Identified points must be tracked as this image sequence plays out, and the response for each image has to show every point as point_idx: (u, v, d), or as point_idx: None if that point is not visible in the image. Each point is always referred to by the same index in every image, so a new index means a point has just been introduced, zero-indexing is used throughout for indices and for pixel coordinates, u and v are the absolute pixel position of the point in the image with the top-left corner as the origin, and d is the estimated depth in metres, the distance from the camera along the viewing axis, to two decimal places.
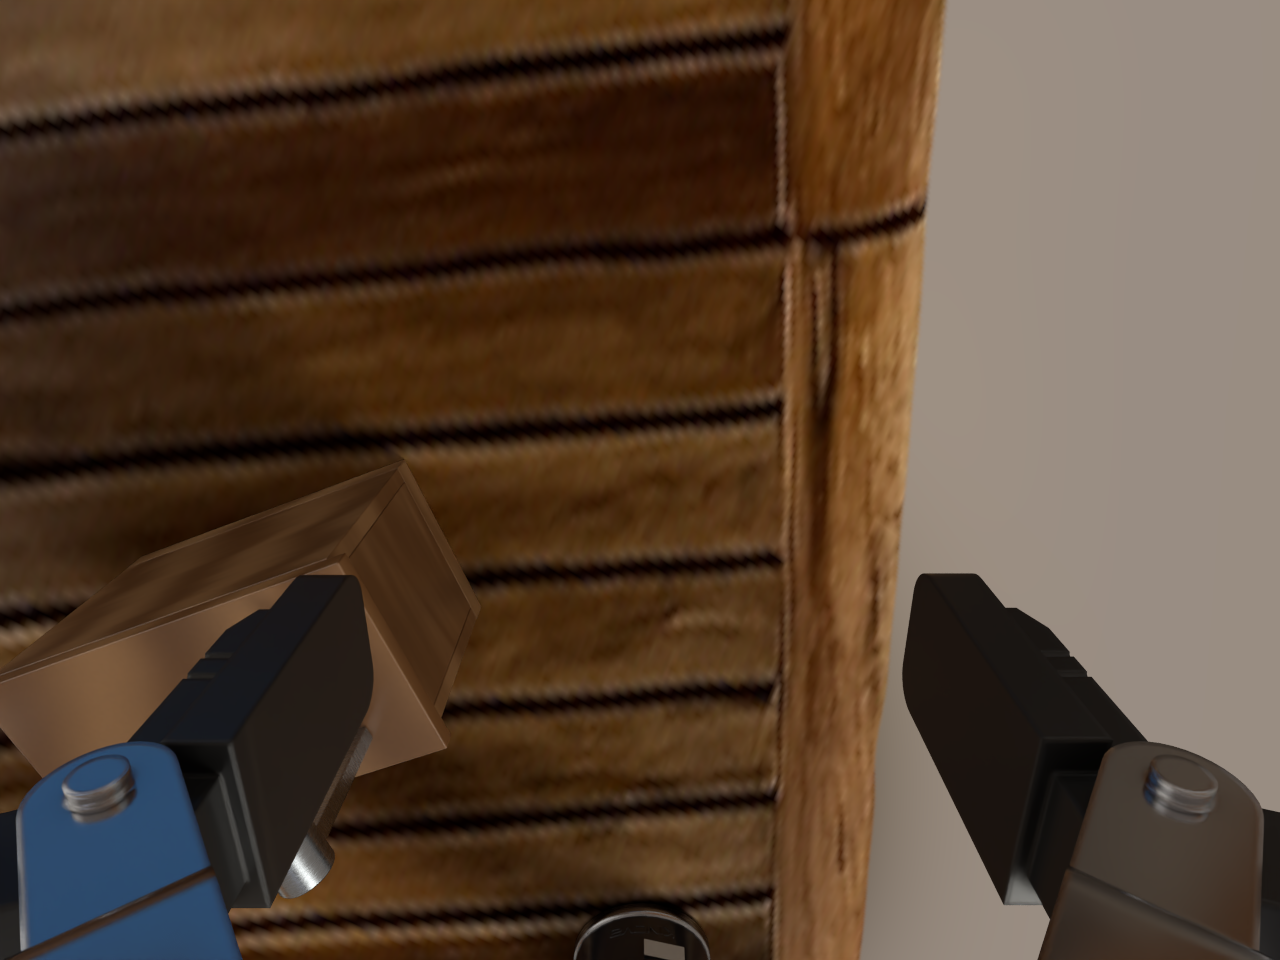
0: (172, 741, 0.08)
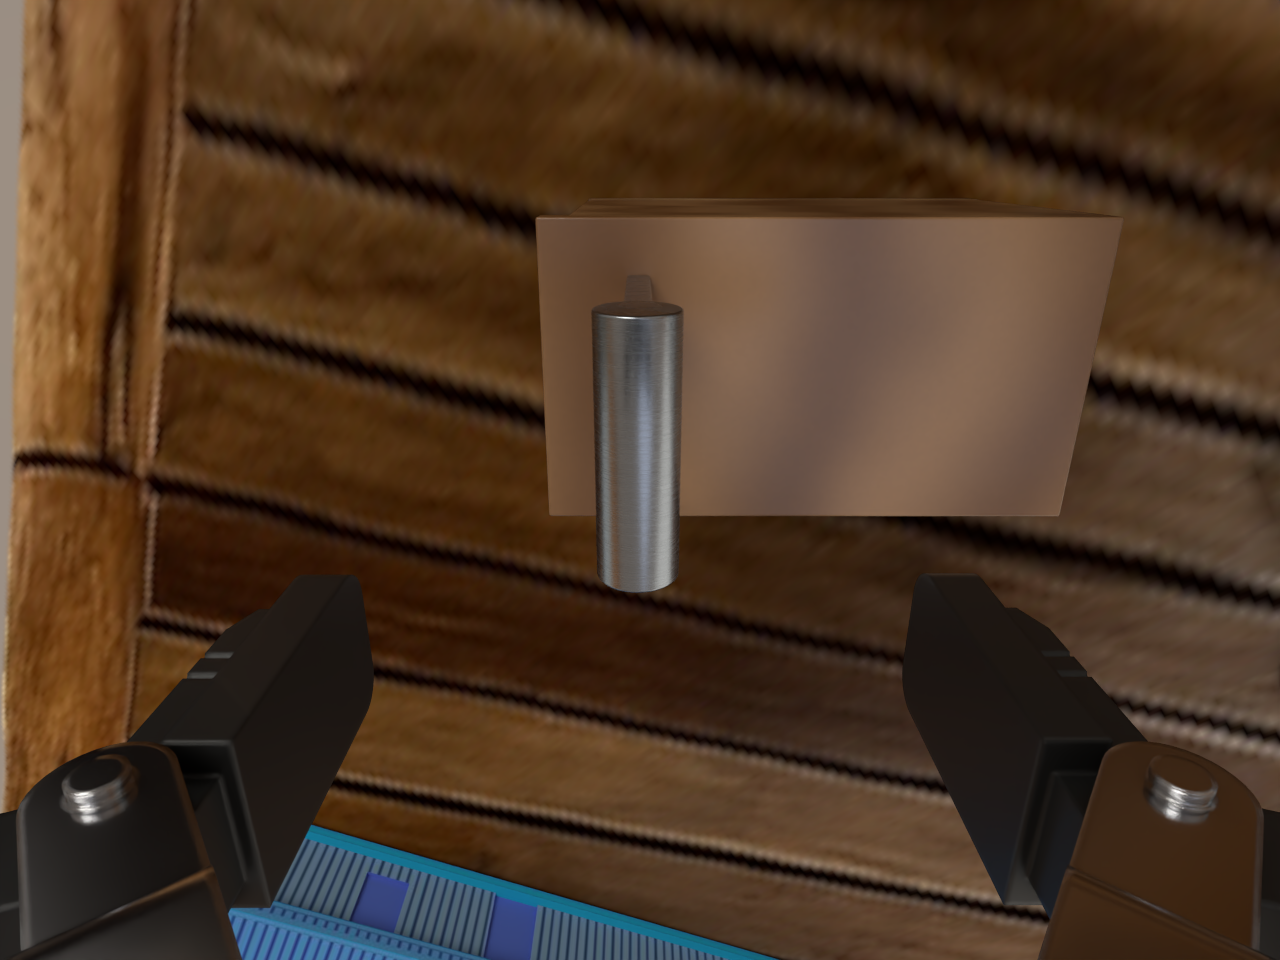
0: (172, 741, 0.08)
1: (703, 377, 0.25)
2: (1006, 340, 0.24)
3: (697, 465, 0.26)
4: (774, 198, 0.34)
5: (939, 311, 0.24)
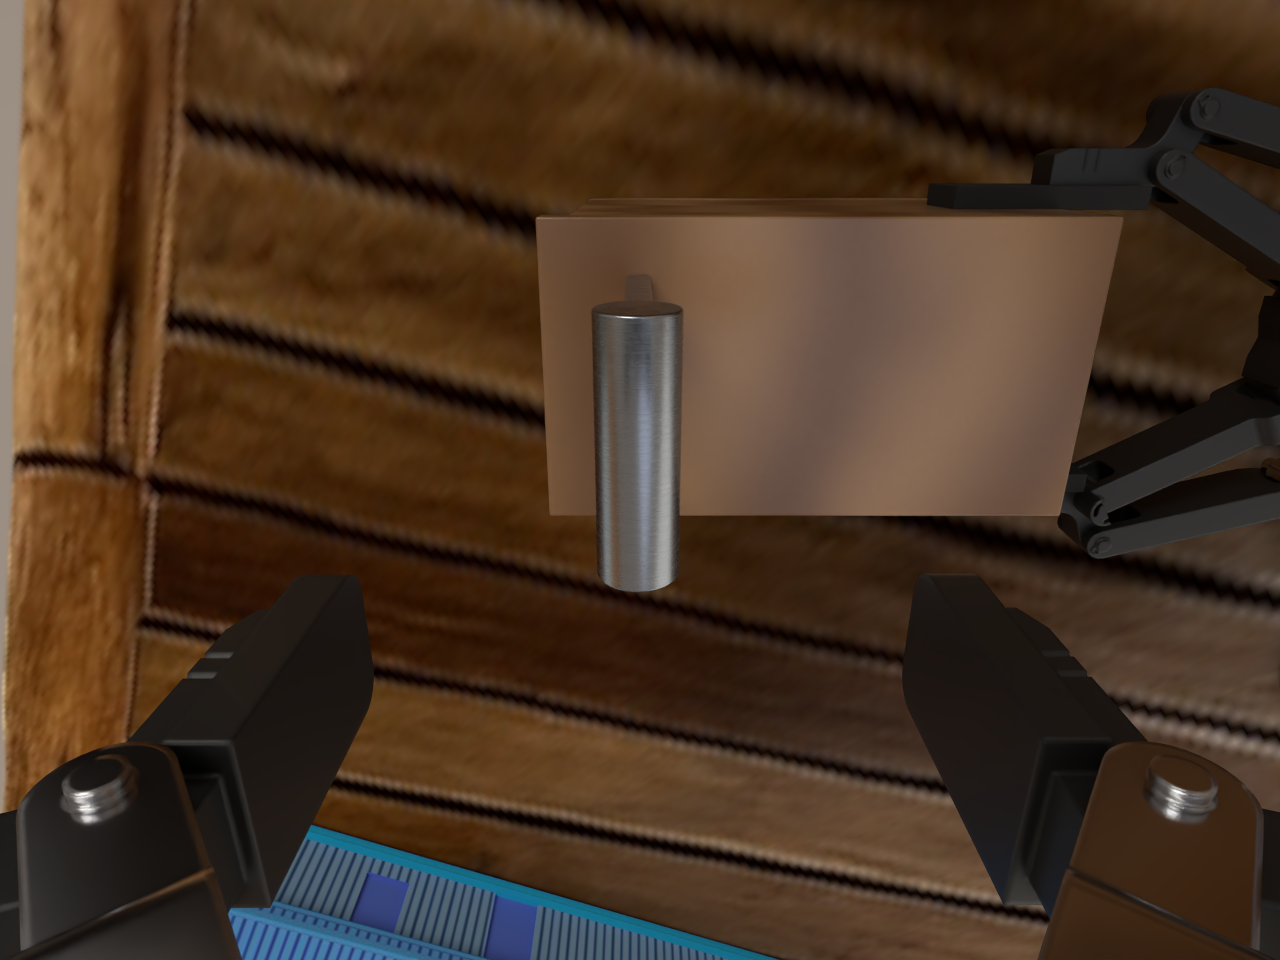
0: (172, 741, 0.08)
1: (704, 377, 0.25)
2: (1006, 340, 0.24)
3: (697, 465, 0.26)
4: (774, 198, 0.34)
5: (939, 311, 0.24)
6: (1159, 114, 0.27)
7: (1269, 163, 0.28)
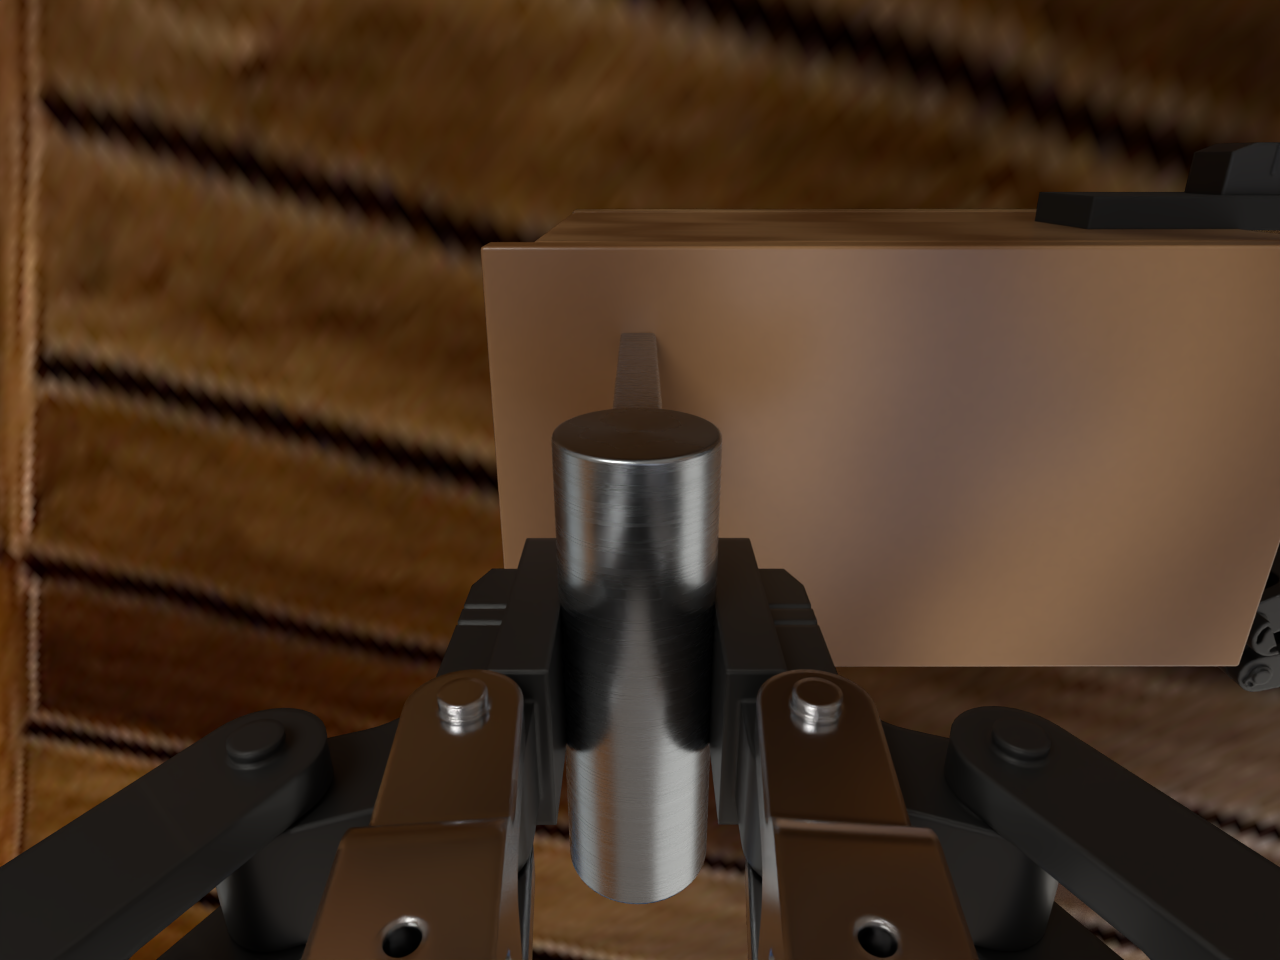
0: (498, 670, 0.09)
1: (734, 480, 0.17)
2: (1185, 427, 0.16)
3: None
4: (816, 209, 0.26)
5: (1087, 384, 0.16)
6: None
7: None
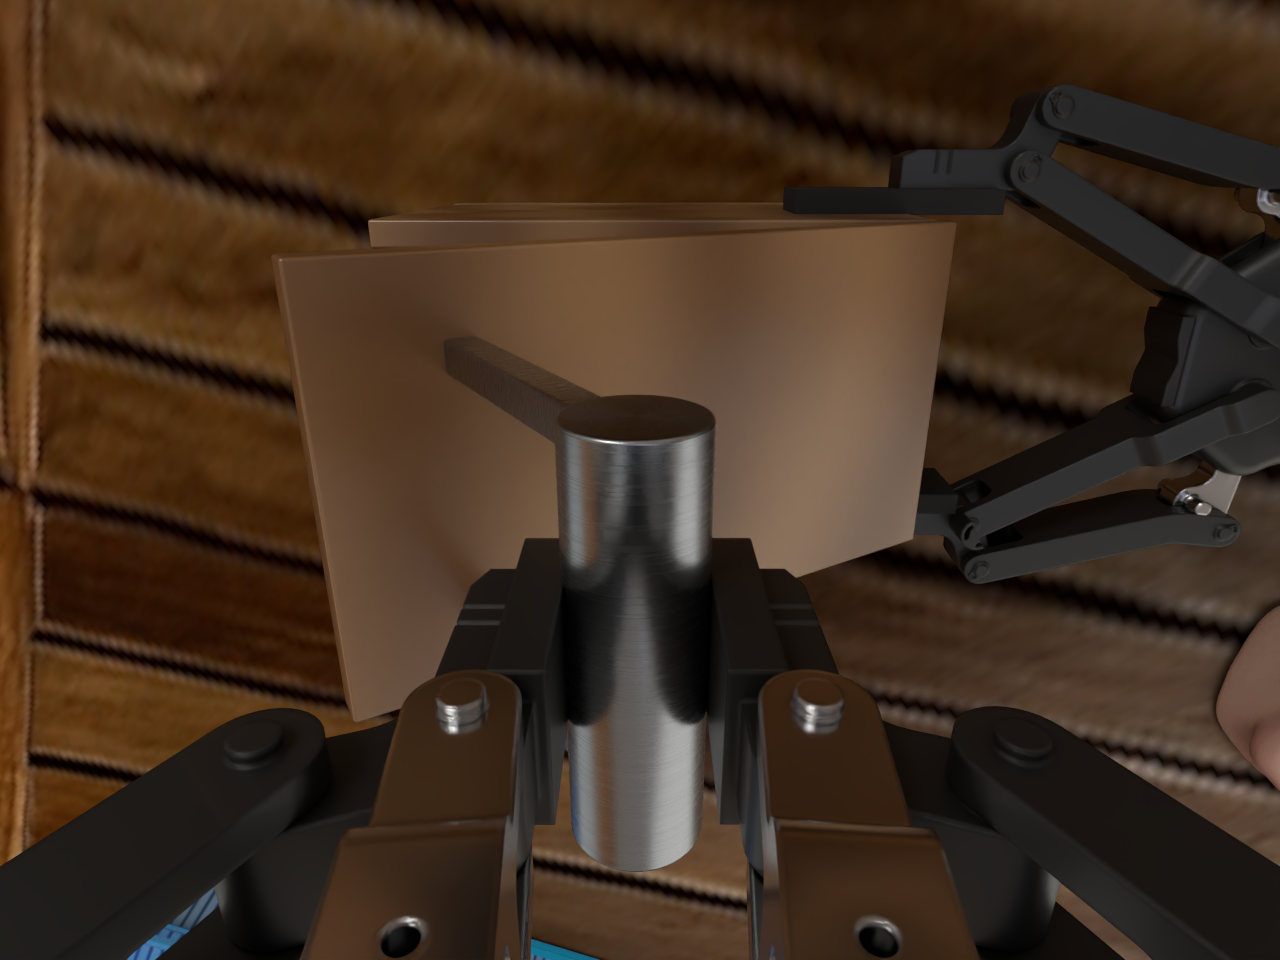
0: (497, 670, 0.09)
1: None
2: (870, 366, 0.21)
3: None
4: None
5: (811, 341, 0.20)
6: (1018, 113, 0.25)
7: (1144, 165, 0.26)
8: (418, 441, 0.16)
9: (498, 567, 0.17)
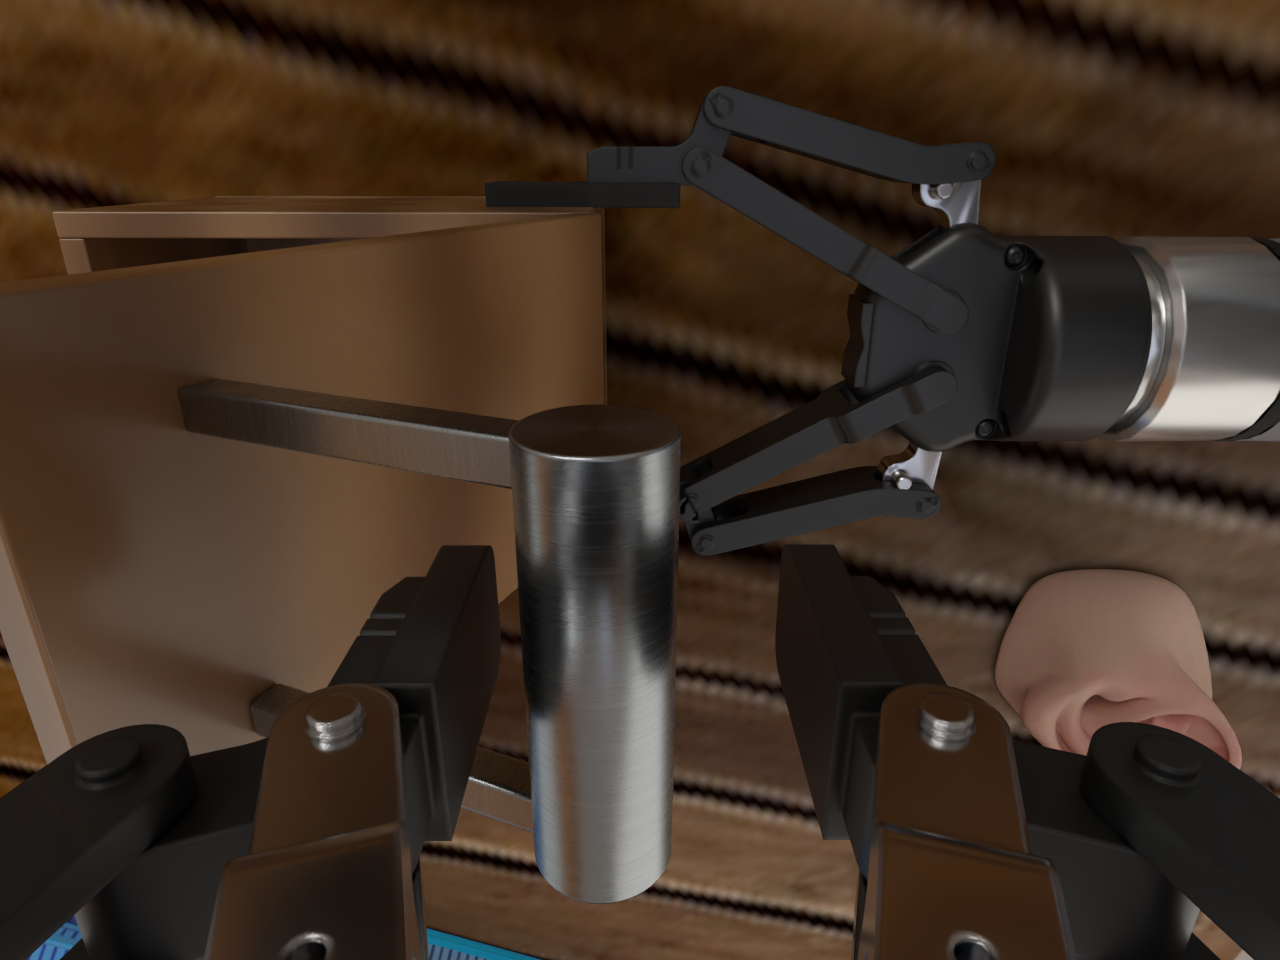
0: (381, 684, 0.08)
1: (326, 520, 0.15)
2: (561, 354, 0.22)
3: (343, 656, 0.16)
4: None
5: (518, 337, 0.20)
6: (698, 112, 0.27)
7: (826, 162, 0.28)
8: (164, 527, 0.12)
9: (276, 656, 0.14)
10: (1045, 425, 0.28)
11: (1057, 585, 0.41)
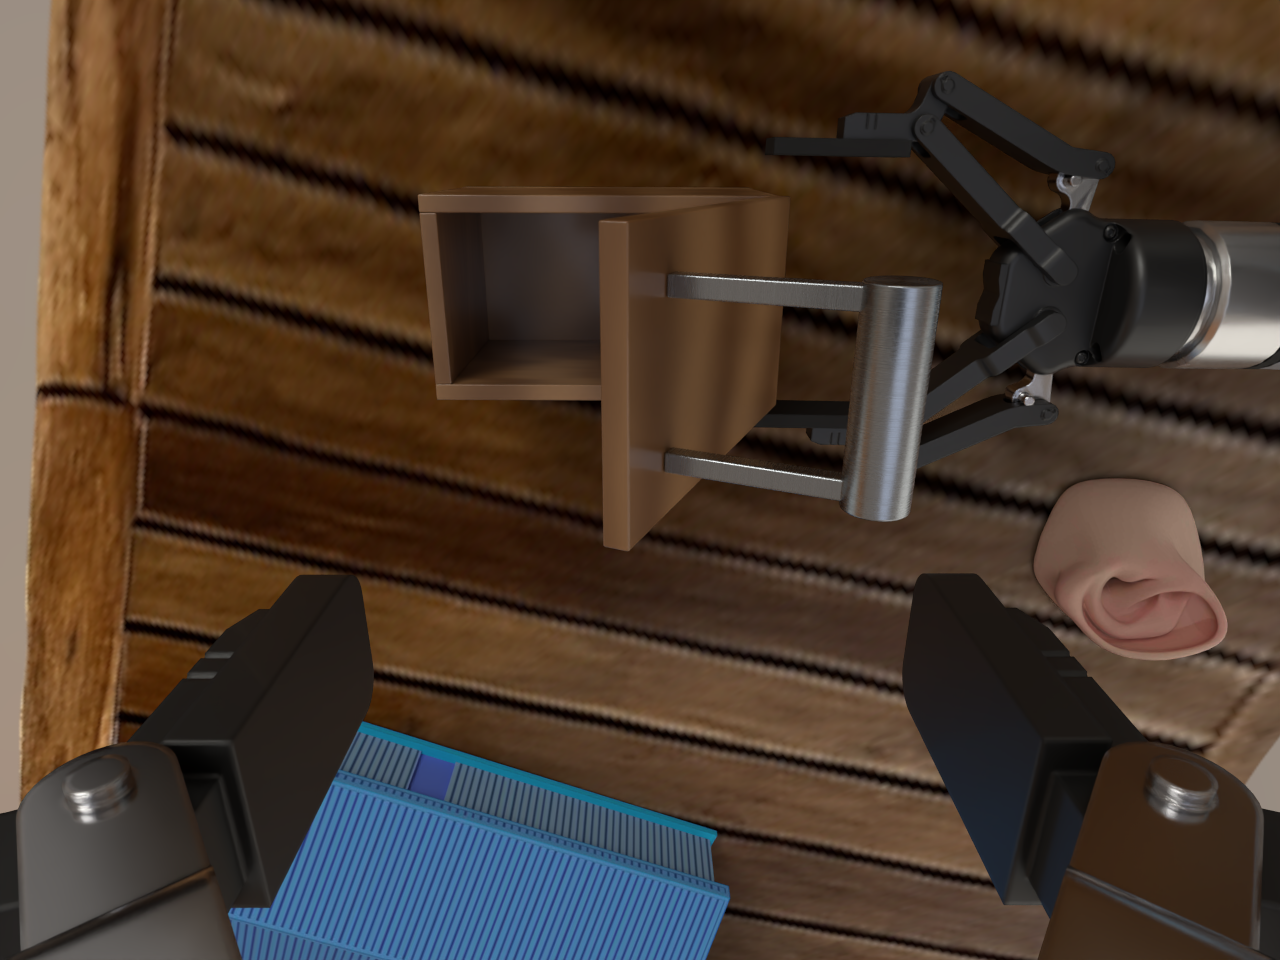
0: (172, 741, 0.08)
1: (691, 361, 0.26)
2: None
3: (688, 445, 0.27)
4: None
5: (755, 273, 0.32)
6: (921, 90, 0.38)
7: (995, 144, 0.39)
8: (656, 344, 0.23)
9: (672, 432, 0.26)
10: (1129, 351, 0.40)
11: (1084, 490, 0.52)
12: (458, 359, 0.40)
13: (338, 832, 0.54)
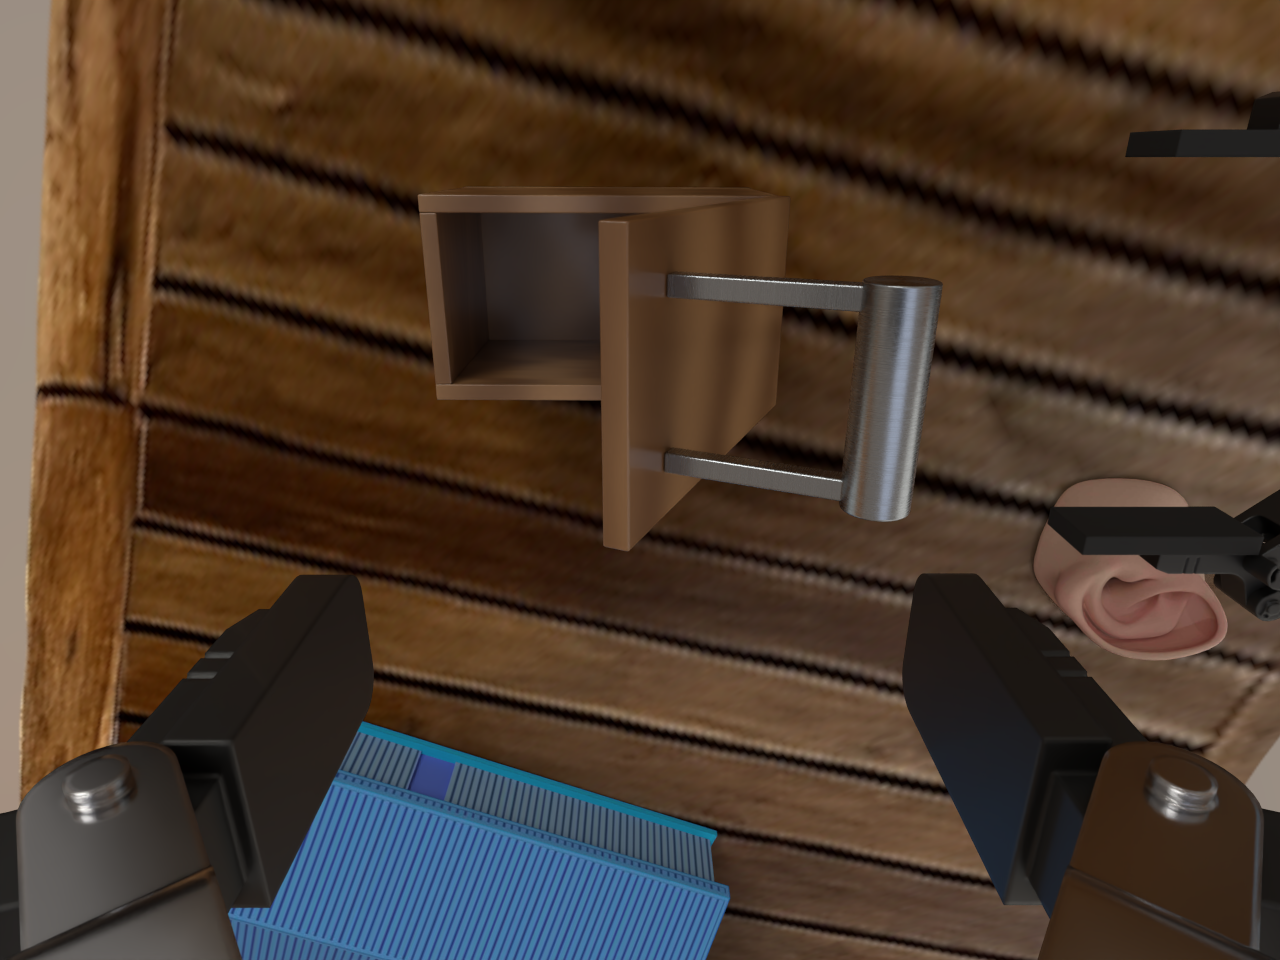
0: (172, 741, 0.08)
1: (691, 361, 0.26)
2: None
3: (688, 445, 0.27)
4: None
5: (755, 273, 0.32)
6: None
7: None
8: (656, 344, 0.23)
9: (672, 432, 0.26)
10: None
11: (1084, 490, 0.52)
12: (458, 359, 0.40)
13: (338, 832, 0.54)
